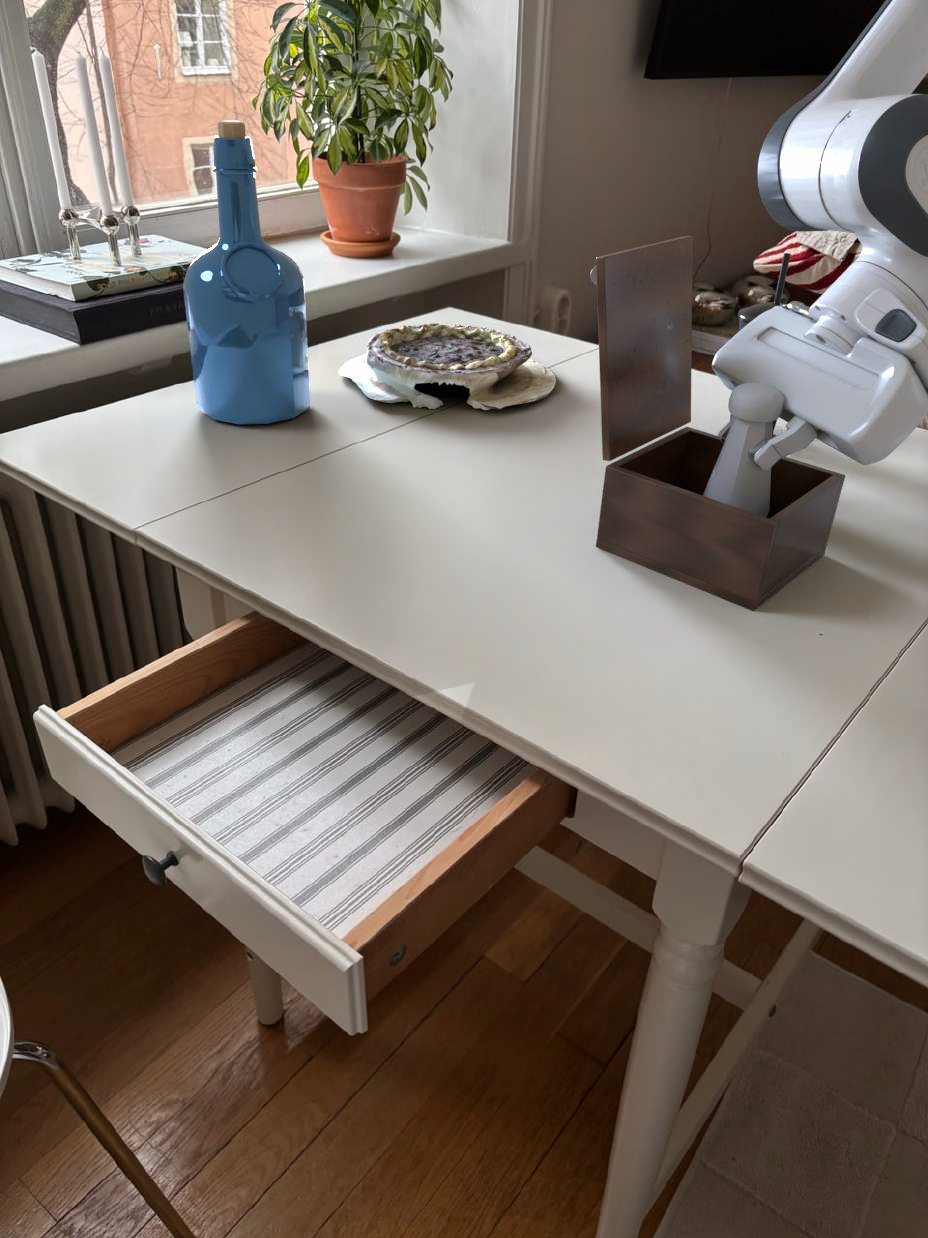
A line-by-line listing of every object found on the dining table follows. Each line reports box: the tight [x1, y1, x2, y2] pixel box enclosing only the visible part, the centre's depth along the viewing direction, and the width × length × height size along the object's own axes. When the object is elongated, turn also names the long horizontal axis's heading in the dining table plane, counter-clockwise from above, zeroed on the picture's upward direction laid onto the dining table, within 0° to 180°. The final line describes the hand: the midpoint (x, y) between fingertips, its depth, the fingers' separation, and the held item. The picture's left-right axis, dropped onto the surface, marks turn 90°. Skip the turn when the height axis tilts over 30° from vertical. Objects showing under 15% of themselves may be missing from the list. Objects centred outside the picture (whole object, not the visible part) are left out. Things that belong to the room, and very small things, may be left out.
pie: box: [337, 322, 557, 411], centre depth 122 cm, size 28×27×5 cm
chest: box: [595, 426, 846, 612], centre depth 84 cm, size 16×14×8 cm
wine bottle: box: [182, 119, 311, 425], centre depth 104 cm, size 14×13×30 cm
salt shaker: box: [703, 383, 784, 518], centre depth 81 cm, size 6×6×13 cm
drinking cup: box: [729, 252, 791, 434], centre depth 105 cm, size 8×8×20 cm
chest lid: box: [590, 235, 693, 462], centre depth 83 cm, size 16×14×4 cm
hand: (740, 454), depth 80 cm, fingers closed on salt shaker, 3 cm apart
